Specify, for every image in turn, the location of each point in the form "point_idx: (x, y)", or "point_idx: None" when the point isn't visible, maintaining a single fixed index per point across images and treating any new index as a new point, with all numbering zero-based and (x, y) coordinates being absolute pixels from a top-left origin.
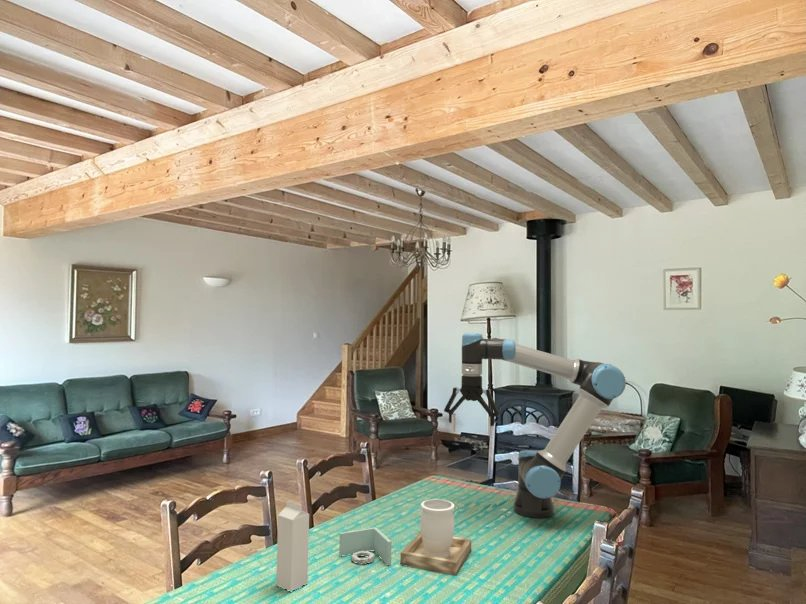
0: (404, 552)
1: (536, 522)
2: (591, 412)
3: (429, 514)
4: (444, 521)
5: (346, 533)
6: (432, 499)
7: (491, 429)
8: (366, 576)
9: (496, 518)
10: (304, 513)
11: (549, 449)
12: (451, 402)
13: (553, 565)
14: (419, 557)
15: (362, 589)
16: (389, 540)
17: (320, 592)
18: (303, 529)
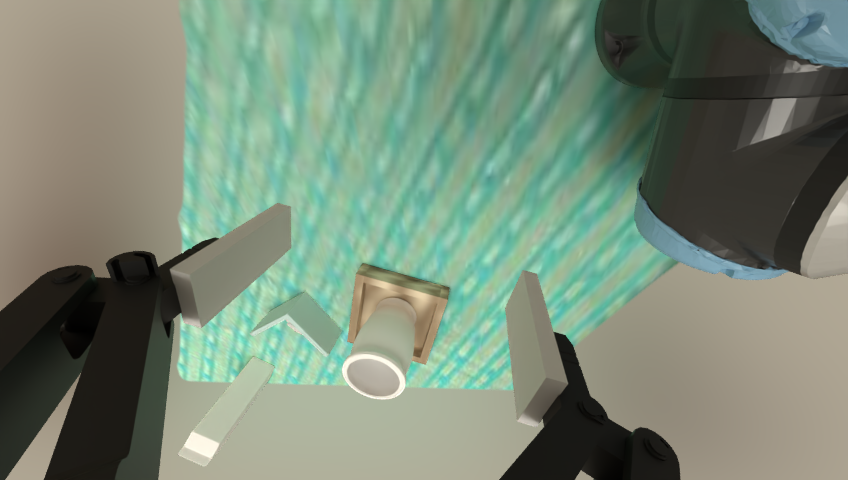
0: (352, 340)
1: (634, 123)
2: None
3: (366, 384)
4: (395, 380)
5: (258, 333)
6: (357, 354)
7: (542, 294)
8: None
9: (521, 111)
10: (215, 449)
11: None
12: (37, 431)
13: (580, 325)
14: None
15: (331, 374)
16: (325, 352)
17: (295, 377)
18: (230, 430)
